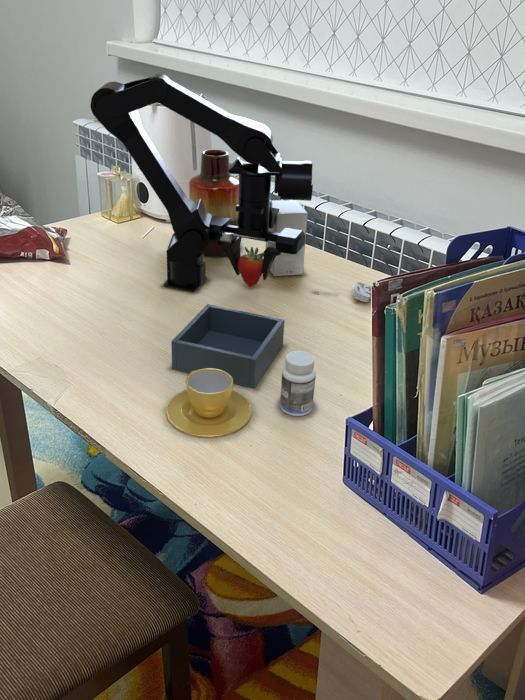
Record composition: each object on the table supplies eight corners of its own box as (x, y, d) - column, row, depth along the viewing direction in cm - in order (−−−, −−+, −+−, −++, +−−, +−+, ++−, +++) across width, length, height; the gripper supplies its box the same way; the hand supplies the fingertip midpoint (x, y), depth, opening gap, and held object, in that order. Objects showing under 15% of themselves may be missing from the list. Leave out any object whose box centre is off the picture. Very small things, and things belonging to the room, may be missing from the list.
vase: (247, 243, 152) (250, 150, 142) (227, 260, 143) (228, 163, 133) (202, 234, 155) (202, 143, 145) (180, 251, 147) (178, 155, 136)
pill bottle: (278, 398, 101) (281, 348, 97) (309, 397, 102) (314, 348, 97) (281, 417, 97) (284, 366, 93) (314, 416, 98) (319, 366, 93)
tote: (171, 369, 107) (171, 341, 104) (207, 329, 118) (207, 303, 115) (254, 388, 103) (255, 360, 101) (282, 346, 114) (284, 319, 112)
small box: (303, 275, 139) (308, 212, 132) (272, 276, 138) (276, 214, 131) (293, 259, 146) (297, 199, 139) (264, 260, 144) (266, 200, 138)
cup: (267, 422, 96) (269, 390, 93) (190, 449, 90) (189, 415, 88) (225, 380, 105) (225, 350, 102) (152, 402, 99) (150, 370, 96)
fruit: (266, 291, 132) (268, 252, 128) (238, 292, 131) (239, 253, 127) (262, 280, 136) (264, 242, 132) (235, 281, 135) (236, 242, 131)
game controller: (381, 303, 129) (383, 291, 128) (322, 306, 127) (323, 294, 126) (372, 290, 134) (374, 278, 133) (314, 293, 132) (315, 280, 131)
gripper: (316, 192, 128) (310, 269, 136) (223, 178, 133) (222, 253, 141) (298, 210, 119) (293, 292, 127) (199, 195, 124) (200, 274, 132)
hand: (251, 276), depth 132 cm, fingers closed on fruit, 5 cm apart
